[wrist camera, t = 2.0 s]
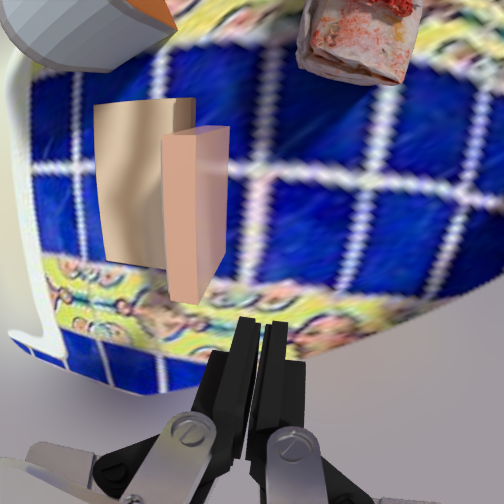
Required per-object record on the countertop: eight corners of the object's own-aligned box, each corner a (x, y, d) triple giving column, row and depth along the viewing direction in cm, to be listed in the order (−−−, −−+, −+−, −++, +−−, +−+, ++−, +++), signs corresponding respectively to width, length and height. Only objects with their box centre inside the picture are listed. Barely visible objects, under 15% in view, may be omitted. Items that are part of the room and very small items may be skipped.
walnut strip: (195, 98, 25) (191, 97, 24) (195, 270, 32) (191, 276, 31) (180, 98, 25) (176, 98, 24) (182, 269, 32) (179, 274, 31)
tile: (229, 126, 25) (196, 135, 17) (225, 252, 31) (198, 305, 23) (202, 125, 26) (157, 135, 18) (201, 249, 31) (166, 299, 23)
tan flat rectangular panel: (180, 98, 25) (178, 98, 24) (182, 269, 32) (181, 271, 32) (97, 104, 26) (93, 105, 25) (109, 258, 33) (106, 260, 33)
